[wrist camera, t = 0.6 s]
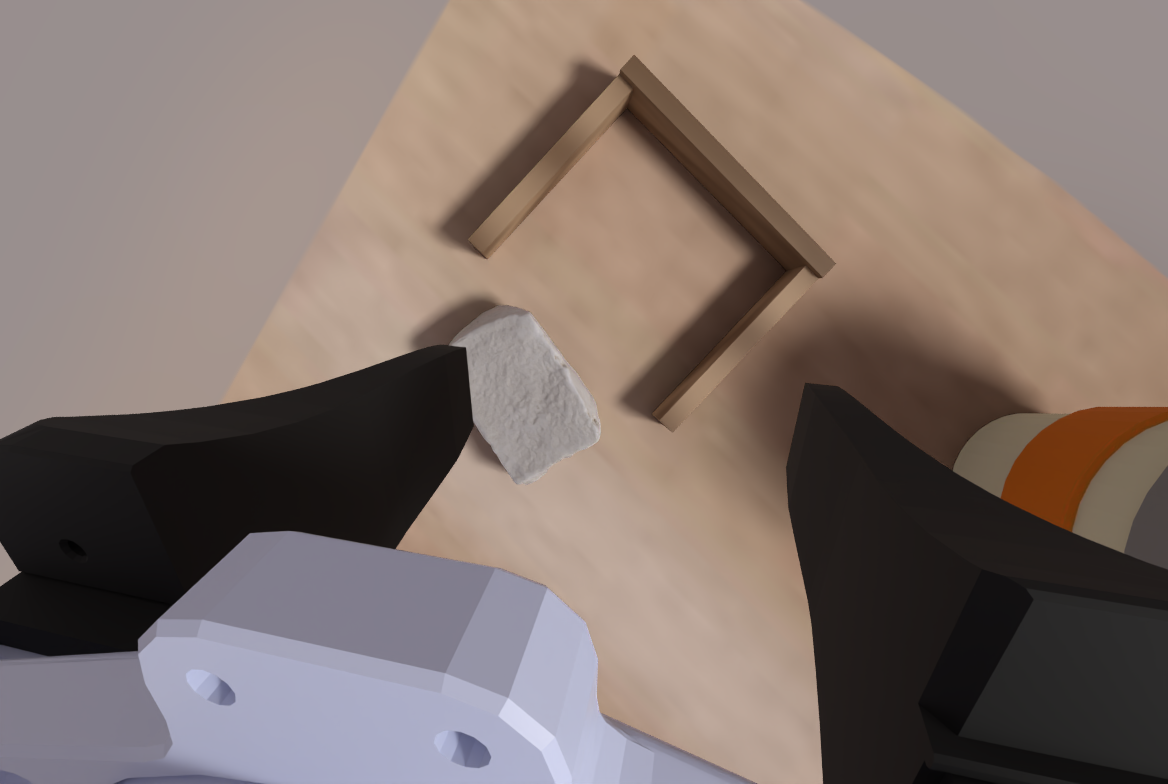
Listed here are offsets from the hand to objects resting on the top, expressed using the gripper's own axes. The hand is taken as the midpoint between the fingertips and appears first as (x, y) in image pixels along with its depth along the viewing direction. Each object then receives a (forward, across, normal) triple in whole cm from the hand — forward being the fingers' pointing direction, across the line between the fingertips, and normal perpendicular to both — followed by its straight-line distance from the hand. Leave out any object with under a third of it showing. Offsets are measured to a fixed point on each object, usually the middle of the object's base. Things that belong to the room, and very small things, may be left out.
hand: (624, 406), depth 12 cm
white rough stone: (+18, +8, +10) cm, 22 cm away
